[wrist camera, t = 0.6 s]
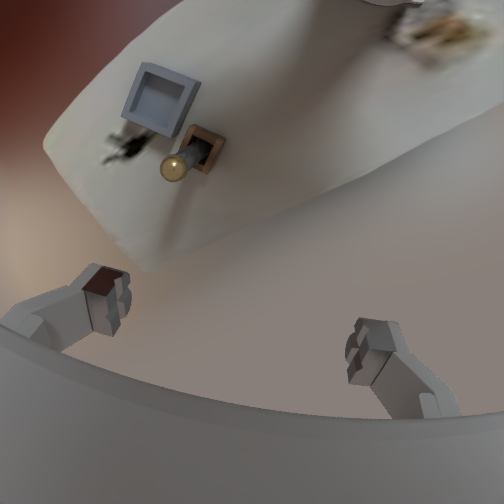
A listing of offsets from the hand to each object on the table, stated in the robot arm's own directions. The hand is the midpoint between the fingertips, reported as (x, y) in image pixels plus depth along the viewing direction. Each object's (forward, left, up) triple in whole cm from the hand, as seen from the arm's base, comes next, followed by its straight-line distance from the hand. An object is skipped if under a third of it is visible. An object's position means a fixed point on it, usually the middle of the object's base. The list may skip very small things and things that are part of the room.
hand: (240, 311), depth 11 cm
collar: (+8, -10, -43) cm, 45 cm away
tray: (+3, -20, -43) cm, 48 cm away
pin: (+8, -10, -43) cm, 45 cm away
